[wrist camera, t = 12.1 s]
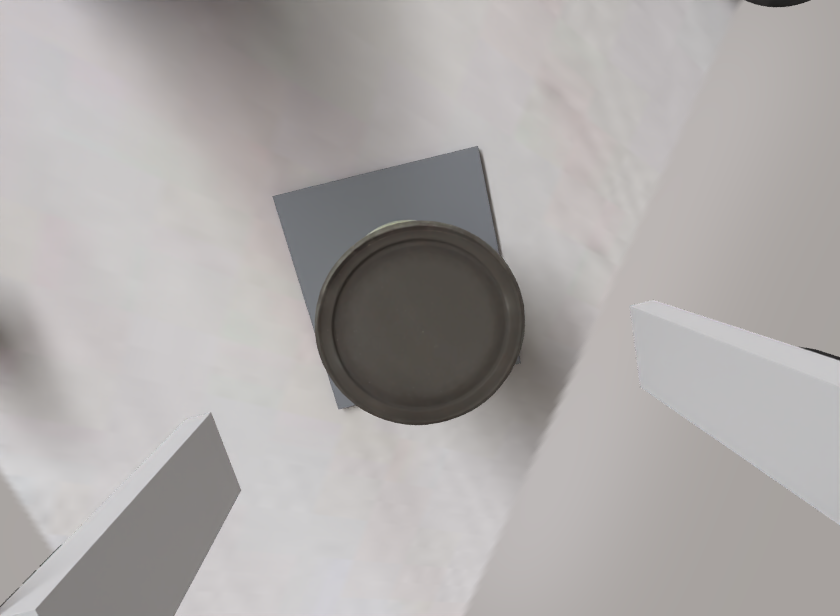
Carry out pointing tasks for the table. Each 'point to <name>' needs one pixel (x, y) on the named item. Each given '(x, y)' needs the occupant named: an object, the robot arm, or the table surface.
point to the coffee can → (419, 322)
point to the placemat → (380, 214)
